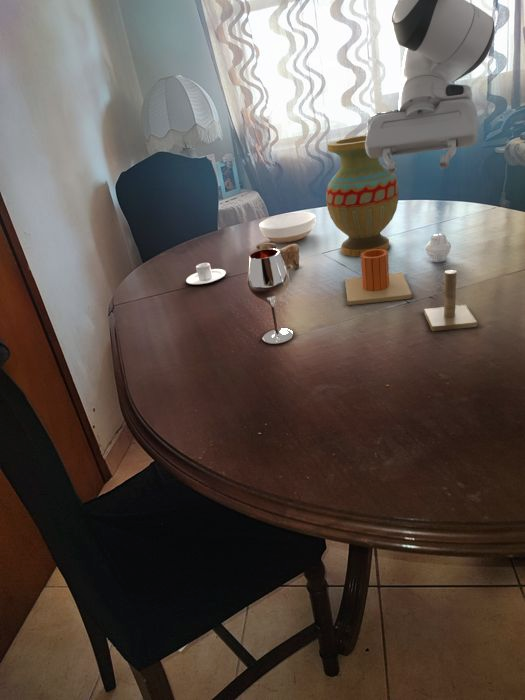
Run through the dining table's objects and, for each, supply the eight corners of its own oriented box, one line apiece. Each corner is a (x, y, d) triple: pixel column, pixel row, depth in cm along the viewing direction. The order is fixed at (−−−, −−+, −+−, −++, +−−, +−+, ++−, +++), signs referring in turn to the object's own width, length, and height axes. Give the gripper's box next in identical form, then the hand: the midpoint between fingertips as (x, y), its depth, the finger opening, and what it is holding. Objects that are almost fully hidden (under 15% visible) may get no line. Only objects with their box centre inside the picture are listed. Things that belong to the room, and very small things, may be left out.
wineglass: (269, 326, 101) (254, 247, 93) (303, 328, 98) (291, 246, 89) (252, 344, 95) (235, 261, 87) (288, 347, 92) (274, 261, 83)
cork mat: (402, 275, 114) (402, 272, 113) (412, 298, 102) (412, 294, 101) (345, 282, 116) (344, 278, 116) (348, 305, 104) (347, 301, 104)
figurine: (254, 282, 128) (248, 246, 123) (290, 262, 138) (285, 228, 133) (273, 284, 123) (267, 248, 119) (308, 263, 133) (304, 229, 128)
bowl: (319, 226, 167) (317, 209, 164) (315, 242, 150) (313, 224, 147) (266, 233, 171) (264, 216, 168) (257, 249, 155) (254, 231, 152)
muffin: (452, 263, 116) (453, 235, 112) (426, 265, 117) (426, 238, 114) (448, 254, 121) (449, 228, 117) (424, 257, 122) (424, 231, 119)
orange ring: (387, 279, 111) (386, 247, 107) (390, 289, 105) (389, 255, 102) (361, 282, 112) (359, 250, 108) (363, 292, 106) (361, 259, 103)
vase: (356, 265, 125) (347, 147, 111) (319, 251, 142) (307, 146, 128) (415, 246, 131) (413, 131, 117) (372, 234, 148) (367, 132, 134)
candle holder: (224, 268, 143) (221, 255, 141) (228, 280, 132) (225, 266, 130) (186, 276, 142) (182, 263, 140) (187, 289, 131) (183, 275, 129)
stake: (465, 309, 93) (467, 261, 88) (476, 327, 86) (479, 276, 82) (424, 313, 95) (424, 267, 90) (432, 331, 88) (432, 282, 83)
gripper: (365, 103, 91) (358, 165, 88) (480, 84, 83) (477, 151, 79) (370, 125, 96) (364, 184, 93) (478, 109, 88) (475, 173, 85)
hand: (417, 169), depth 86 cm, fingers open, 8 cm apart
